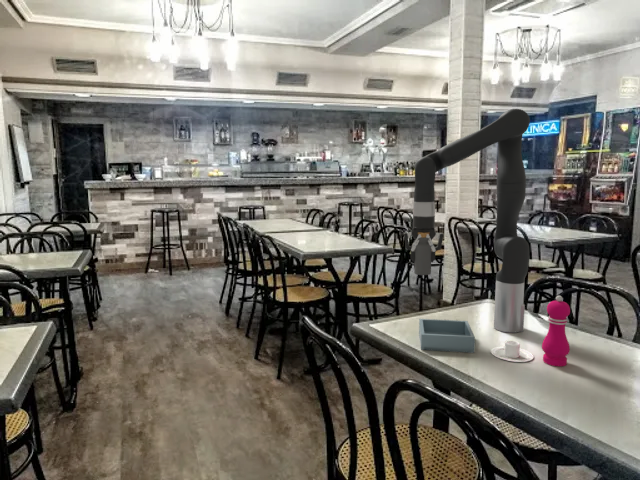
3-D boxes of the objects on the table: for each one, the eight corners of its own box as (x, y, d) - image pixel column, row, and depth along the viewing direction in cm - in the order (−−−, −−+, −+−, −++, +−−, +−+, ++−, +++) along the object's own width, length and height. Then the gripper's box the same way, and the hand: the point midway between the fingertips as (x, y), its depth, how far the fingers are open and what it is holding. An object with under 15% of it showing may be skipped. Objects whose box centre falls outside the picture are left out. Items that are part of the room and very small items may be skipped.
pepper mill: (557, 369, 134) (562, 300, 131) (535, 360, 140) (539, 294, 137) (574, 364, 137) (579, 297, 134) (551, 355, 143) (556, 291, 140)
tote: (466, 335, 162) (467, 320, 161) (474, 352, 146) (474, 337, 145) (419, 332, 164) (419, 318, 163) (420, 349, 149) (421, 334, 148)
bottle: (429, 271, 173) (430, 230, 170) (431, 275, 167) (433, 233, 165) (413, 271, 173) (414, 230, 171) (415, 275, 167) (415, 232, 165)
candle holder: (497, 345, 152) (498, 332, 152) (537, 354, 145) (538, 341, 145) (485, 357, 143) (486, 343, 142) (527, 367, 136) (528, 353, 135)
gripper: (403, 215, 164) (402, 263, 167) (445, 215, 162) (444, 264, 165) (403, 213, 172) (402, 259, 174) (444, 213, 169) (442, 260, 172)
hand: (422, 261), depth 169 cm, fingers closed on bottle, 6 cm apart
